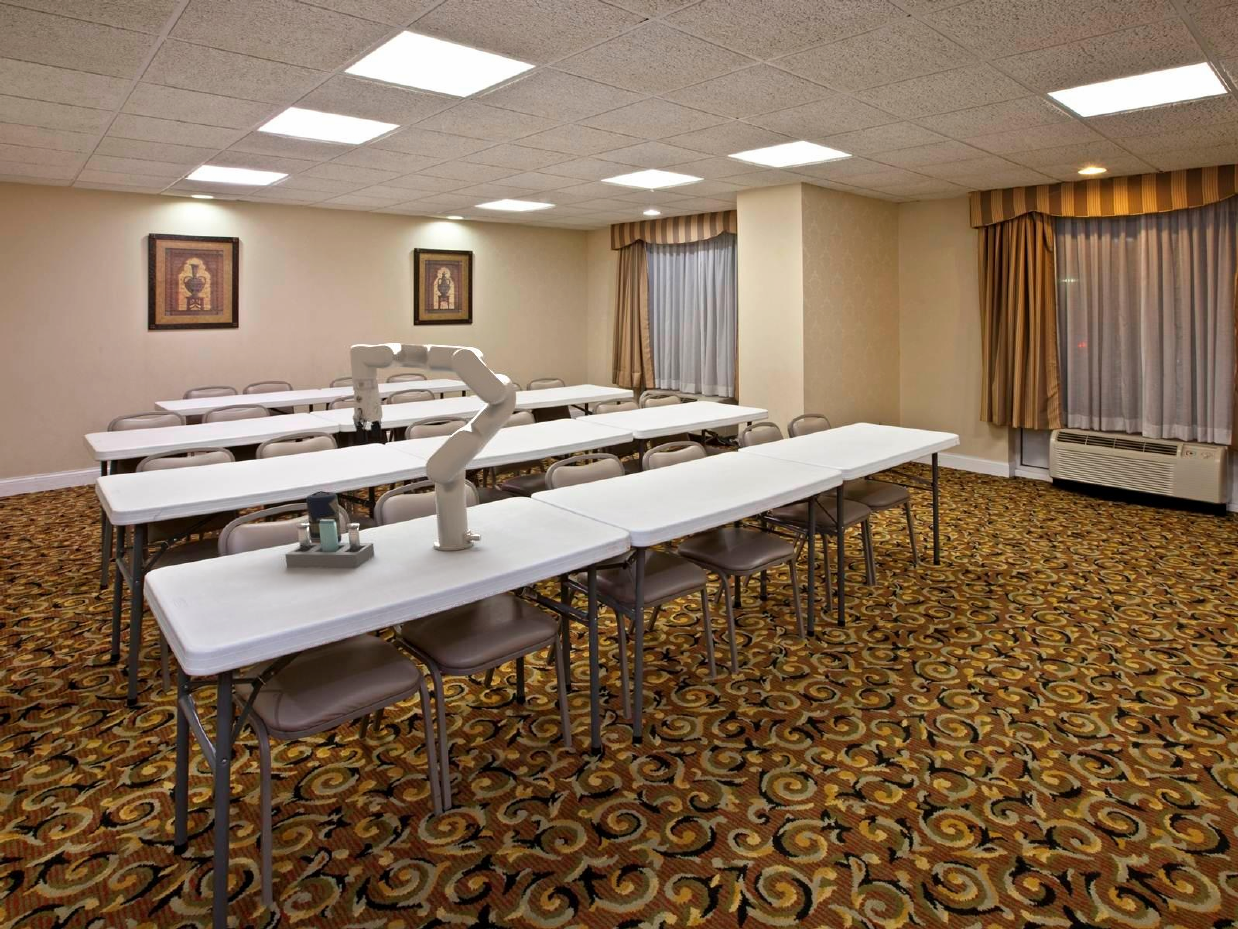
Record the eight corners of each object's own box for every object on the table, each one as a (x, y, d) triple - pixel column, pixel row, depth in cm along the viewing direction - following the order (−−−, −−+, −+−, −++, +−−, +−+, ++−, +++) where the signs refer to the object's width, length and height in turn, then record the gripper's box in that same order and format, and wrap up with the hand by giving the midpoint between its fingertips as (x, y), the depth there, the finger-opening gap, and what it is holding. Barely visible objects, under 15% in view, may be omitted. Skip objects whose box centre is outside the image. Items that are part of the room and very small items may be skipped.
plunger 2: (364, 550, 227) (361, 522, 226) (358, 553, 224) (356, 526, 222) (352, 549, 228) (349, 522, 226) (346, 553, 224) (343, 526, 222)
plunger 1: (314, 549, 229) (311, 522, 227) (308, 553, 225) (305, 526, 224) (303, 549, 229) (300, 522, 228) (296, 553, 226) (293, 526, 224)
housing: (374, 555, 232) (373, 543, 231) (357, 567, 220) (355, 555, 219) (307, 554, 234) (306, 542, 233) (286, 567, 222) (285, 554, 222)
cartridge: (342, 558, 229) (338, 518, 227) (335, 563, 224) (330, 522, 222) (327, 558, 230) (323, 517, 227) (320, 563, 225) (315, 522, 223)
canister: (331, 549, 239) (325, 495, 236) (305, 548, 241) (299, 494, 238) (347, 540, 248) (342, 488, 245) (322, 539, 250) (316, 487, 247)
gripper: (363, 387, 222) (368, 444, 225) (389, 382, 239) (392, 435, 242) (340, 387, 223) (345, 443, 226) (367, 382, 240) (371, 435, 243)
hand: (369, 439), depth 234 cm, fingers open, 9 cm apart
